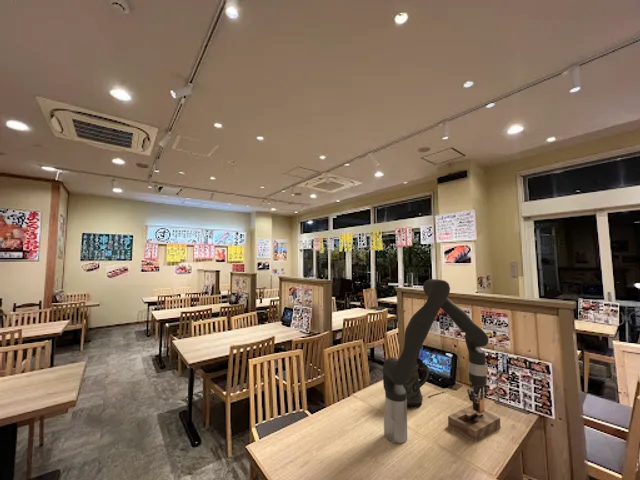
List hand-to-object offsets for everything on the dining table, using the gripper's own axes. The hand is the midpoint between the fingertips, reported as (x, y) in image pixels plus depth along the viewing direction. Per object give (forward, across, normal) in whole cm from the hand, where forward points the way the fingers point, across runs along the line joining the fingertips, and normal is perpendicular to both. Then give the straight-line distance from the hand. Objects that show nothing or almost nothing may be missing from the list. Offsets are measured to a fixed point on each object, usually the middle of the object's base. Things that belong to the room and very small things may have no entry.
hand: (478, 408), depth 130 cm
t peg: (+6, 0, 0) cm, 6 cm away
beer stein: (+7, -12, +32) cm, 35 cm away
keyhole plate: (+7, -4, 0) cm, 8 cm away
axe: (+8, +13, +29) cm, 33 cm away
